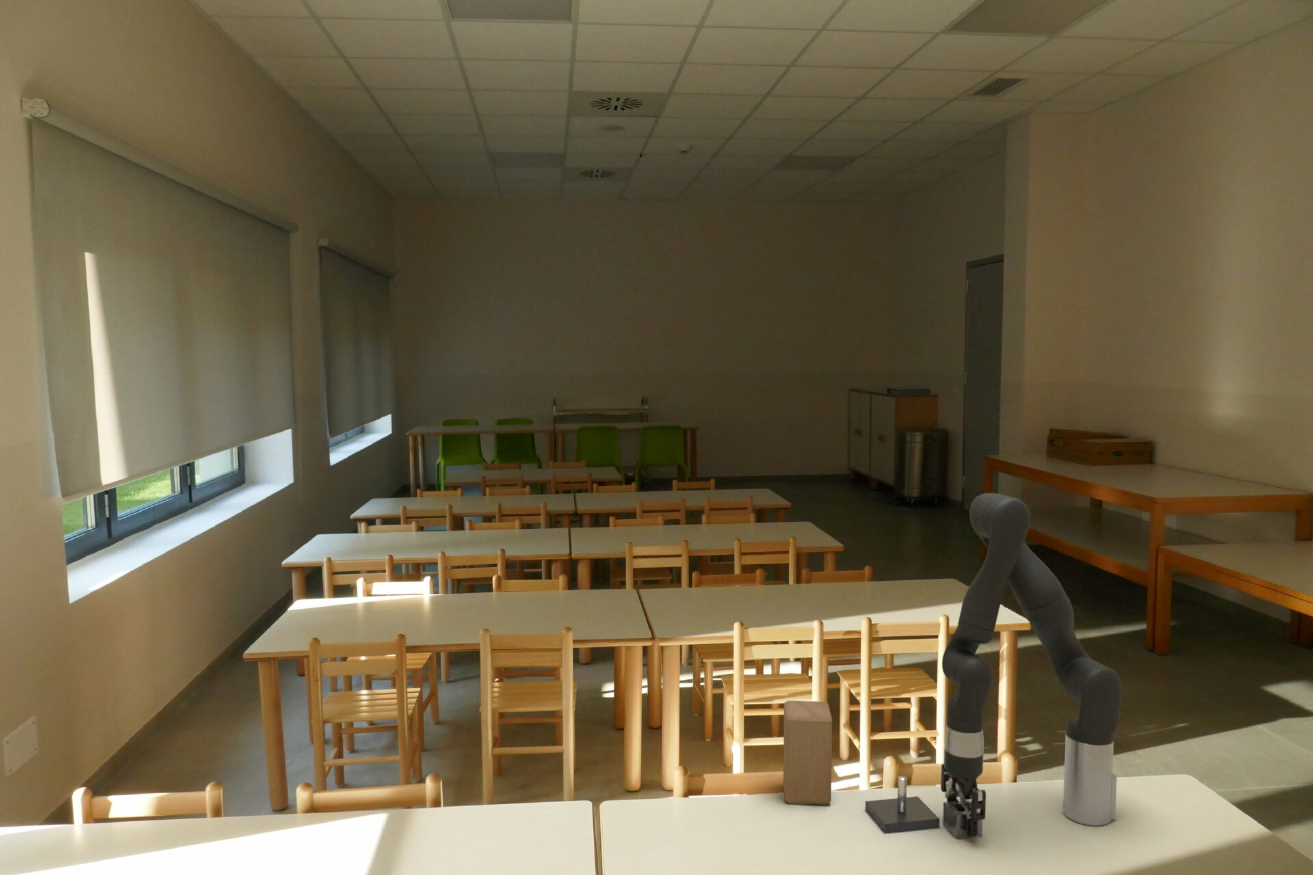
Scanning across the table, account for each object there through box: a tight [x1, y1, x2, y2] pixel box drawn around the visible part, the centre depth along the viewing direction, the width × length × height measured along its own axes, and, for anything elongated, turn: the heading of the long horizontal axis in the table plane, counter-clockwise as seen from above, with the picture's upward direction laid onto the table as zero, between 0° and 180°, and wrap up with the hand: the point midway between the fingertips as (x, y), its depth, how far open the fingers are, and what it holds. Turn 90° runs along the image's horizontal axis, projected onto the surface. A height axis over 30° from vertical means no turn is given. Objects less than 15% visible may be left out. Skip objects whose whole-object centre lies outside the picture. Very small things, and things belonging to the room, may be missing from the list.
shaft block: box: [864, 775, 941, 834], centre depth 196 cm, size 12×10×9 cm
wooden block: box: [782, 700, 833, 806], centre depth 207 cm, size 10×10×20 cm
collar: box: [942, 800, 983, 840], centre depth 192 cm, size 6×6×5 cm
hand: (961, 825), depth 192 cm, fingers open, 7 cm apart
